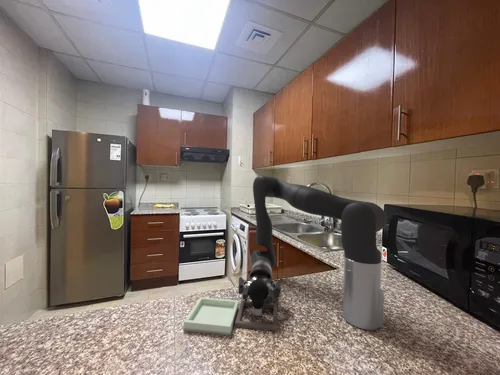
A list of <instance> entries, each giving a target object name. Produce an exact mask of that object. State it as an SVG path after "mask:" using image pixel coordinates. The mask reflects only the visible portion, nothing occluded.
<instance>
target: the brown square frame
mask: <svg viewBox="0 0 500 375" xmlns="http://www.w3.org/2000/svg"><path fill="white" fill-rule="evenodd" d="M244 307H252V308H253V304H252V300H251V301H249V300H247V302H245V301H244V300H241V301H240V304H239V308H238V311H237V315H236V318H235V322H234V327H237V328H246V329H252V330H253V329H256V330H262V331H263V330H264V331H271V332H272V331H274V332H278V304H277V303H273V302H270V304H268V302H264V303H263V307H262V309H264V308H265V309H273V317H272V318H273V323H266V322H265V323H264V322H256V321H247V320H245V321H243V320H241V319H242V315H243V312H244Z"/></svg>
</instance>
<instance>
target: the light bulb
mask: <svg viewBox="0 0 500 375" xmlns="http://www.w3.org/2000/svg"><path fill="white" fill-rule="evenodd" d="M248 298H249V300H251V301H252V304H253V307H252V308H253V311H252V312H253V315H254V316H256V317H259V316H261V315H263V303H265V301H266V300H267V299H268V287H267V285H266V283H265V282H263V281H262V280H255V281H253V282H251V284H250V285H249V287H248Z"/></svg>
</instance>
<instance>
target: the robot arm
mask: <svg viewBox="0 0 500 375" xmlns="http://www.w3.org/2000/svg"><path fill="white" fill-rule="evenodd" d="M252 193H253V203H254V210H255V220H256V221H255V222H256V224H255V225H256V228H255V229H256V230H255V231H256V232H255V243H256V244H257V245H258V246H260V247H264V248H265V249H266V250H262V249H261V250H254V251H253V252H252V253H251V257H250V260H251V265H252V268H251V270H250V274H249V277H247V279H244V278H243V277H241V276H240V277H238V294H240V295H242V300H243V301H245V302H247V301H248V299H249V295H248V287H249V285H250V284H251V282H253V281H255V280H262V281H263V282H265V283H266V285H267V287H268V296H267V303H268V304H270V303H273V302H274V297H276V298H279V297H280V296H281V291H282V280H280V279H279V280H277V281H274V280H273V279H272V278H273V271H272V268H274V267H275V266H276V263H277V262H276V261H277V259H276V258H277V257H276V254H275V250H274V245H273V223H272V219H271V217H270V215H269V213H268V210H267V205H266V199H267V198H277V199H280V200H284V201H285V202H287V203H288V204H289V205H290V207H292V208H294V209H297V210H299V211H301V212H304V213H307V214H309V215H314V216H319V217H327V218H333V219H336V220H338V221H339V220H340V222H341V223H340V230H341V237H340V238H341V246H342V249H343V252H344V254H343V287H342V288H343V291H342V292H343V294H342V317H343V318H344V320H345V321H346V322H347V323H349V324H351V325H352V326H354V327H356V328H358V329H359V328H360V329H363V330H367V331H374V330H376V329H379V328H381V329H383V328H384V308H385V306H384V305H385V301H384V300H385V292H384V290H382V289H381V284H382V283H381V281H382V280H381V279H382V277H381V276H382V253H381V250H380V249H378V246H377V233H378V232H380V231H381V230H383V229H384V228H385V226H386V225H387V223H388V217H387V213H386V212H385V210H384V209H383V208H382V207H381V206H379V205H378V204H376V203H374V202H370V201H365V200H364V201H363V200H357V199H351V198H346V197H341V196H338V195H336V194H332V193H331V192H327V191H324V190H320V189H318V188H314V187H312V186H307V185H303V184H299V183H298V184H297V183H289V182H286V181H283V180H281V179H279V178H277V177H273V176H268V175H257V176H256V177H255V178H254V180H253V183H252Z"/></svg>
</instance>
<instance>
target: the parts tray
mask: <svg viewBox="0 0 500 375" xmlns="http://www.w3.org/2000/svg"><path fill="white" fill-rule="evenodd" d="M239 301H240V300H237V299H236V300H235V299H223V298H213V297H203V296H201V297H199V299H198V300H197V301H196V303H195V304H194V306H193V307H192V309H191V310H190V312H189V313H188V314H187V316H186V318H185V319H184V321H183V331H184V332H193V333H203V334H210V335H211V334H213V335H223V336H232V331H233V328H234V326H235V321H236V318H237V314H238V311H239V307H240V304H239Z"/></svg>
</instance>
